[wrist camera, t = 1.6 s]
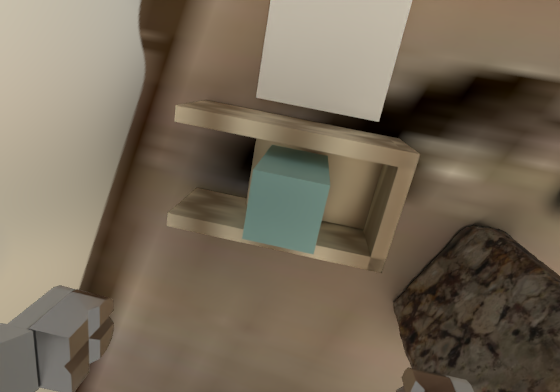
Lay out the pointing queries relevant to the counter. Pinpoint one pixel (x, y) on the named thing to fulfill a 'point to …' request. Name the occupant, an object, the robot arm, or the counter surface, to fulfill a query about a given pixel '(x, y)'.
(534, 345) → the stone block
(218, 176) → the counter surface
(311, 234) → the block
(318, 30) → the mat
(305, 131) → the channel
